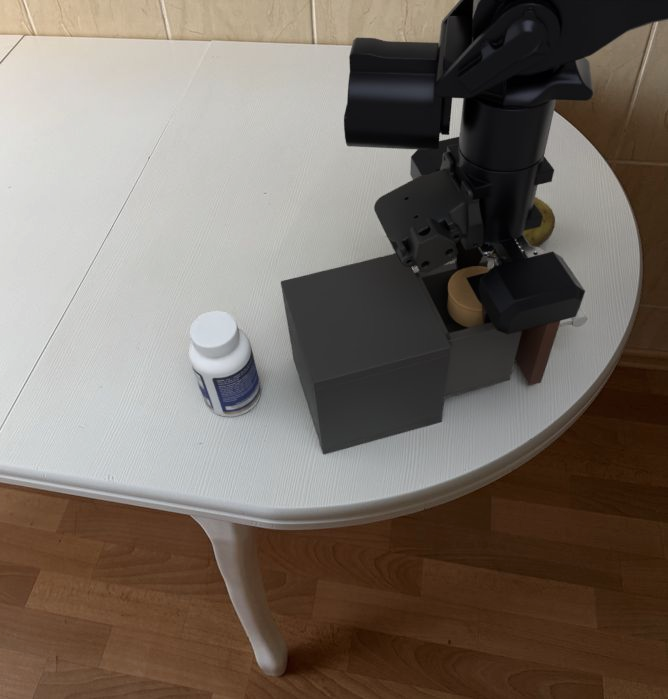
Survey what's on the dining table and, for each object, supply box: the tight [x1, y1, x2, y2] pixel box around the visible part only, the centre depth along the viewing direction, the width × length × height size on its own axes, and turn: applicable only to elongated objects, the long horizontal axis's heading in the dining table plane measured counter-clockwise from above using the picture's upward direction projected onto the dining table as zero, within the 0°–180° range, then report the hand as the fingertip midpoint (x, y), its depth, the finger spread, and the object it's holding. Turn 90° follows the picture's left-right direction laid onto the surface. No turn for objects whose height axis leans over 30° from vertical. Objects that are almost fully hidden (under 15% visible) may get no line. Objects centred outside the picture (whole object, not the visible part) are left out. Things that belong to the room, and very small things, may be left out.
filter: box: [447, 266, 491, 328], centre depth 59 cm, size 5×5×2 cm
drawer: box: [414, 254, 588, 398], centre depth 62 cm, size 14×10×9 cm
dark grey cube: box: [280, 252, 451, 455], centre depth 61 cm, size 11×11×11 cm
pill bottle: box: [188, 310, 262, 418], centre depth 62 cm, size 5×5×10 cm
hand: (476, 299), depth 59 cm, fingers closed on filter, 5 cm apart
